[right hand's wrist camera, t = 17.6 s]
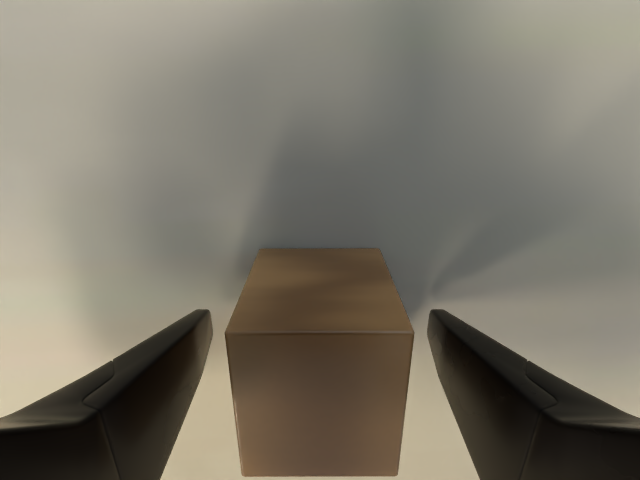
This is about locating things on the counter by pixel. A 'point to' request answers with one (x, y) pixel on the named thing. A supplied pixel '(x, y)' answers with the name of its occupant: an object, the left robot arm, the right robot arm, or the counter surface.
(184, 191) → the counter surface
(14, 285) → the counter surface
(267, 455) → the brown wooden cube
